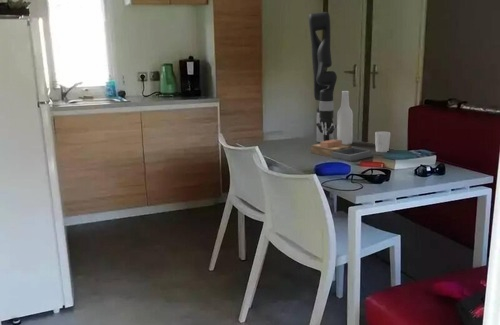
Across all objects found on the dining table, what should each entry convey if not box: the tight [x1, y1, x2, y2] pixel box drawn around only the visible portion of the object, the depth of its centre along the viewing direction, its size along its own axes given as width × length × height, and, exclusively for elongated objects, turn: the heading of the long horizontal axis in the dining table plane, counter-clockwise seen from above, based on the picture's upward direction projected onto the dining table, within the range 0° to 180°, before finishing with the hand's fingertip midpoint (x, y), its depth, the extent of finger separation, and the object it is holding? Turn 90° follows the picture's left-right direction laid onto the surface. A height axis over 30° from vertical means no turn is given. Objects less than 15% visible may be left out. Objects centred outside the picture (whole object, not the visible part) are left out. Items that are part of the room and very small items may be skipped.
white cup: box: [374, 130, 391, 153], centre depth 272 cm, size 8×8×10 cm
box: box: [331, 147, 372, 162], centre depth 262 cm, size 16×12×3 cm
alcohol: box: [336, 90, 354, 146], centre depth 293 cm, size 9×9×30 cm
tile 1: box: [319, 141, 334, 148], centre depth 270 cm, size 5×5×2 cm
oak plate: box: [310, 143, 353, 158], centre depth 272 cm, size 14×16×4 cm
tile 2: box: [328, 138, 342, 146], centre depth 273 cm, size 5×5×2 cm
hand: (326, 141), depth 278 cm, fingers closed
